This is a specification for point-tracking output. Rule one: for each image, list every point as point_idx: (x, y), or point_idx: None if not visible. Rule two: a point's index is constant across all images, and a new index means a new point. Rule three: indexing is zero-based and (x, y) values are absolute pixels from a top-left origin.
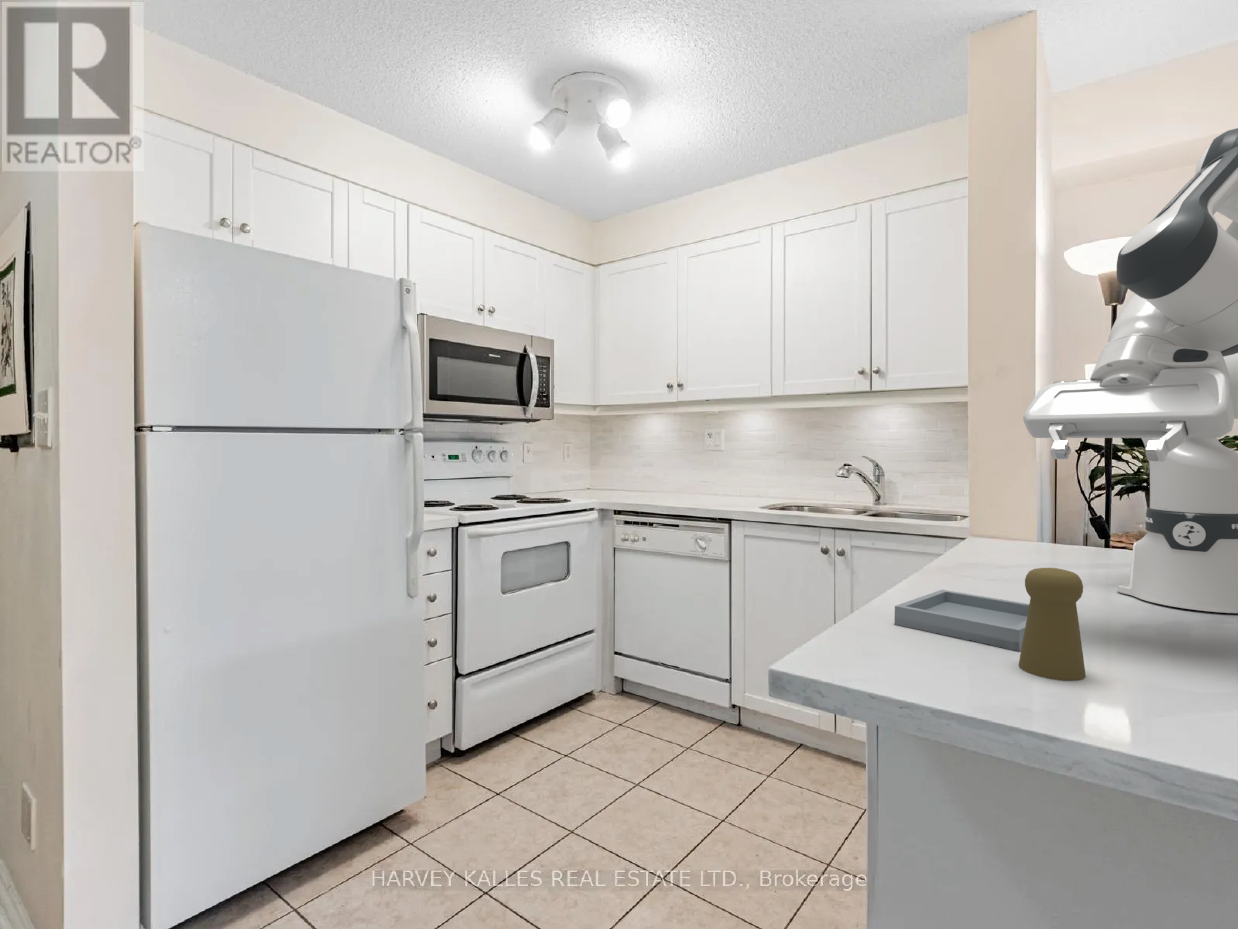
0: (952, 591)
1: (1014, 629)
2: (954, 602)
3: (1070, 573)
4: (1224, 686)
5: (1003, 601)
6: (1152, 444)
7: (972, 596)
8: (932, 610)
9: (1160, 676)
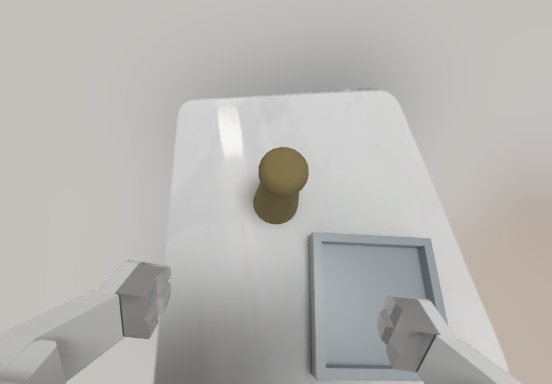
0: None
1: (317, 233)
2: None
3: (269, 161)
4: (167, 258)
5: (376, 368)
6: (142, 282)
7: None
8: None
9: (209, 249)
